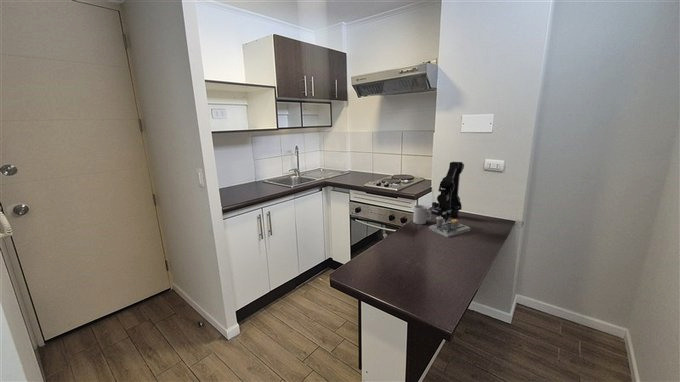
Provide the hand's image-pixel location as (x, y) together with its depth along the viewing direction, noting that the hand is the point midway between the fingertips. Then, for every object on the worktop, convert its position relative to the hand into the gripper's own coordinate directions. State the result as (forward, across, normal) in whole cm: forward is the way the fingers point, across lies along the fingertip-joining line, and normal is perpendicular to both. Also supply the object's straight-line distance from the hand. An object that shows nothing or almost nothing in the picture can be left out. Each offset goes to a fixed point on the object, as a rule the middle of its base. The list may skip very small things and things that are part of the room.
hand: (444, 223), depth 178 cm
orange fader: (+1, +1, +8) cm, 8 cm away
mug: (+4, +5, -15) cm, 16 cm away
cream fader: (+1, +4, 0) cm, 4 cm away
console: (+3, 0, +4) cm, 5 cm away
